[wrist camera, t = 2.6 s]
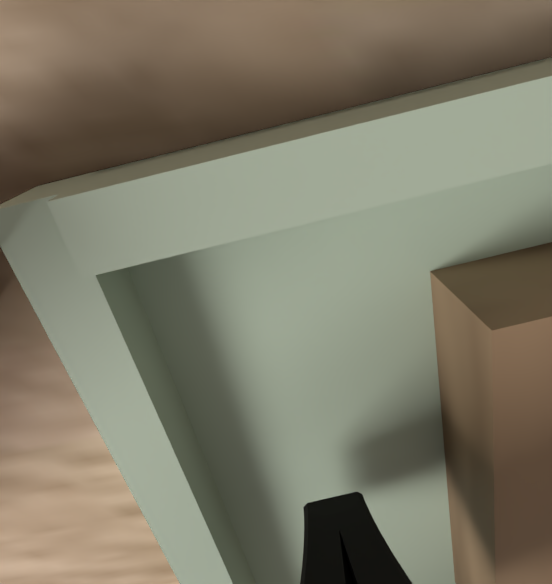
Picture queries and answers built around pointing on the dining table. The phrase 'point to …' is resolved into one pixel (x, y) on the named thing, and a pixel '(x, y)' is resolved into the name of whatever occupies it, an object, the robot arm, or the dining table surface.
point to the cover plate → (497, 413)
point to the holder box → (285, 313)
